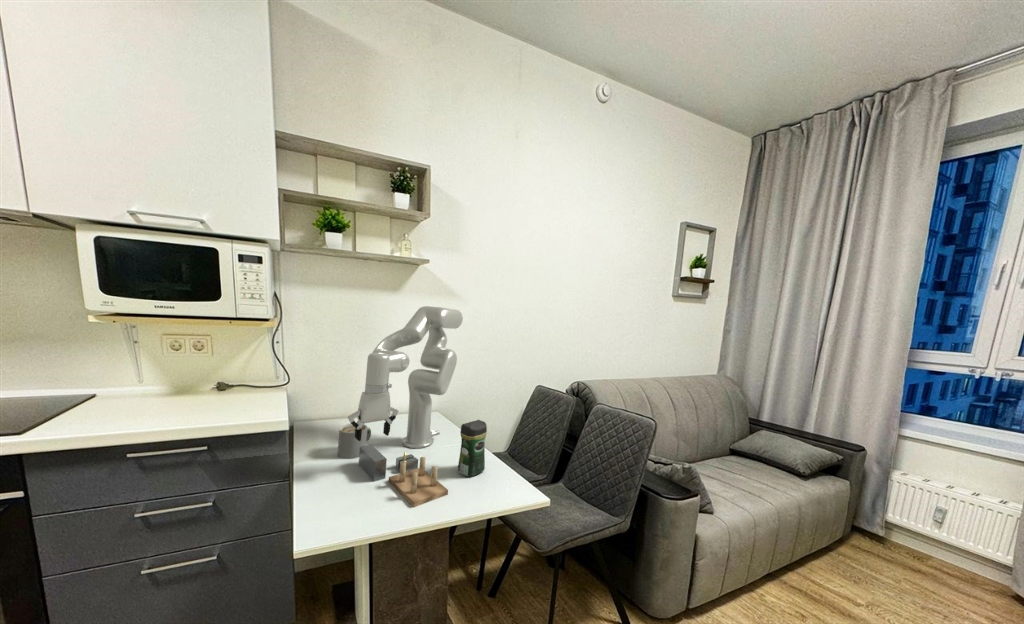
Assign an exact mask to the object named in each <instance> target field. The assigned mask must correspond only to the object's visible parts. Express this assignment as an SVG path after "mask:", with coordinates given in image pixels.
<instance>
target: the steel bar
mask: <svg viewBox="0 0 1024 624" xmlns="http://www.w3.org/2000/svg"><path fill="white" fill-rule="evenodd" d="M387 459H388V458H387V457H385V456H384V455H383V453H381V452H380V451H379V450H378V449H376V447H375V446H374V445H372V444H366V446H361V447H360V452H359V457H358V466H359V467H360V469H361V470H362V471H363V472H364V473H365V474H366V475H367V476H368V477H369V478H370V479H371V481H372V482H374V483H375V482H377V481H382V480H384V479H386V476H387V475H386V474H387V472H386V471H387V461H388V460H387Z"/></svg>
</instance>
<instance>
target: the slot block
mask: <svg viewBox="0 0 1024 624" xmlns="http://www.w3.org/2000/svg"><path fill="white" fill-rule="evenodd" d="M395 459H396V460H395V468H396V470H398V472H400V463H402V462H405V463H406V472H408V471H411V470H414V469H418V468H419V459H418V458H417V457H415V455H413V453H412V454H411V453H409V454H407V452H406V451H404V452H403V456H399V457H396V458H395Z"/></svg>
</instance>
